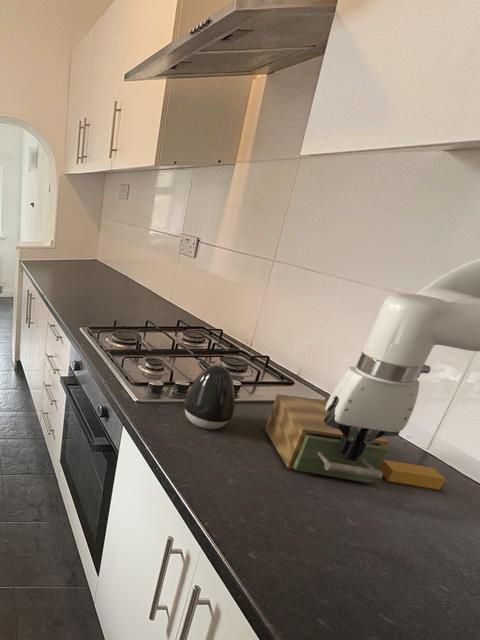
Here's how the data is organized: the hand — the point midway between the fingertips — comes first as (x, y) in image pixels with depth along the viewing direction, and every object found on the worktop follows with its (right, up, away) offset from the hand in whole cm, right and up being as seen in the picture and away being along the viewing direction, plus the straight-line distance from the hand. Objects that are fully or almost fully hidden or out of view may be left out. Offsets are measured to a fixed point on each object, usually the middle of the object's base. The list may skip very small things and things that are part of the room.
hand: (346, 456), depth 77 cm
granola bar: (+16, -6, +4) cm, 18 cm away
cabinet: (+3, -2, +12) cm, 13 cm away
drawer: (+2, -3, +7) cm, 9 cm away
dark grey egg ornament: (-14, +2, +23) cm, 27 cm away
